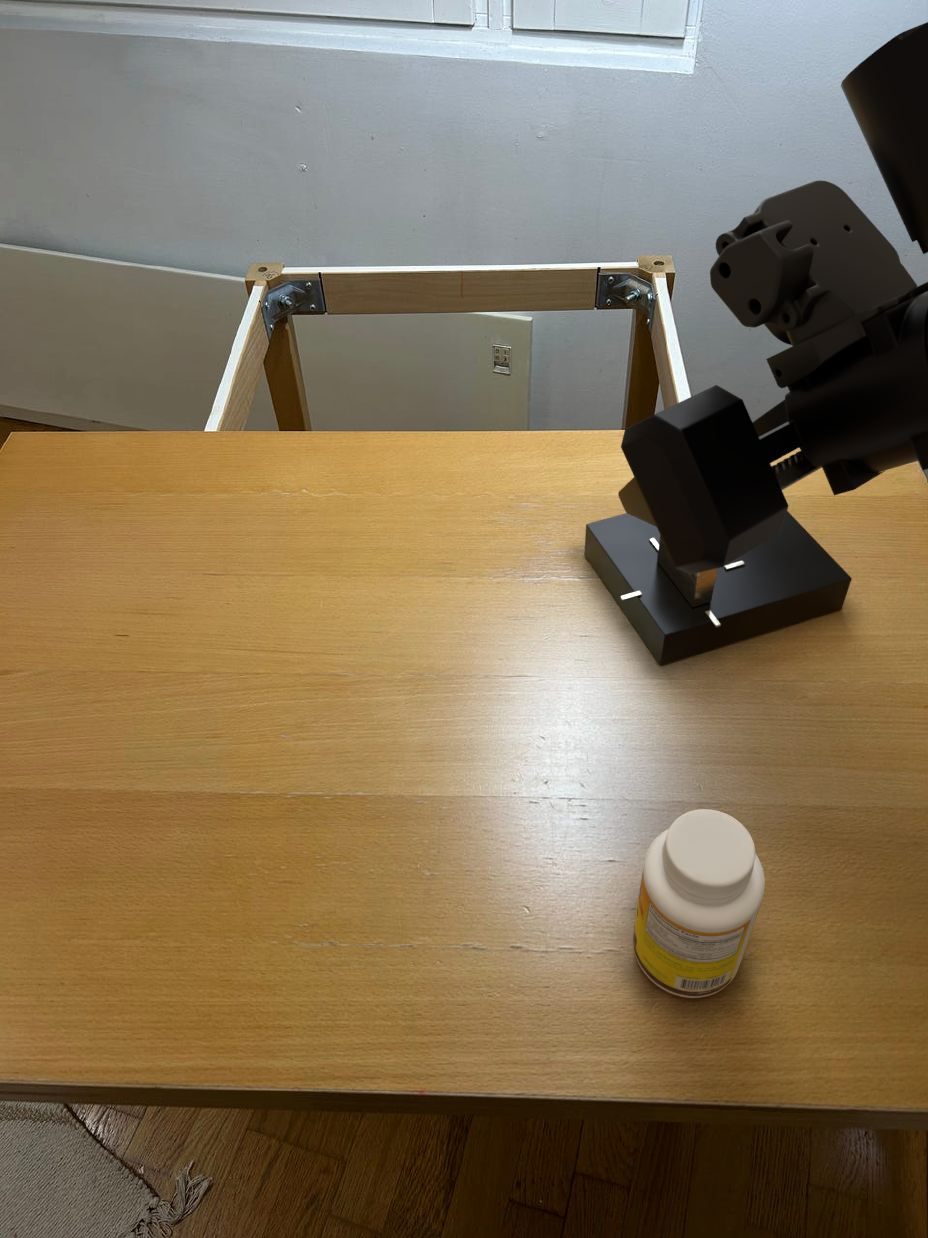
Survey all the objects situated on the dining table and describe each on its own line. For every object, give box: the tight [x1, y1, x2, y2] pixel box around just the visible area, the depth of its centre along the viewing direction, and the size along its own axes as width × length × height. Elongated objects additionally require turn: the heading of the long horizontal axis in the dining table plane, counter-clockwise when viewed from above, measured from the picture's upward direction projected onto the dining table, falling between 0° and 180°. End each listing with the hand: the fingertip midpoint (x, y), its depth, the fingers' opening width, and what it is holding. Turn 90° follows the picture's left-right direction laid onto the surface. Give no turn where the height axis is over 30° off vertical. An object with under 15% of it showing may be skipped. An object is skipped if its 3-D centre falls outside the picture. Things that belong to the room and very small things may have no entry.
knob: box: [657, 535, 717, 607], centre depth 65 cm, size 5×1×5 cm, turn 20°
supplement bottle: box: [632, 808, 766, 999], centre depth 48 cm, size 6×6×10 cm
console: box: [583, 510, 853, 667], centre depth 69 cm, size 13×15×3 cm
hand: (691, 466), depth 48 cm, fingers open, 9 cm apart
